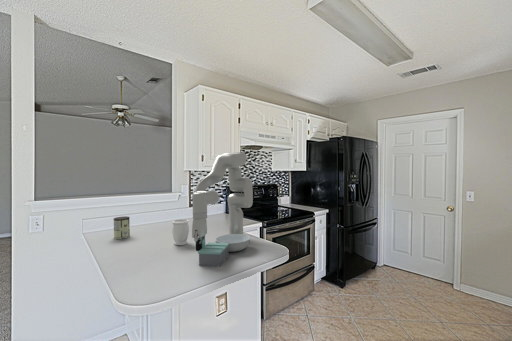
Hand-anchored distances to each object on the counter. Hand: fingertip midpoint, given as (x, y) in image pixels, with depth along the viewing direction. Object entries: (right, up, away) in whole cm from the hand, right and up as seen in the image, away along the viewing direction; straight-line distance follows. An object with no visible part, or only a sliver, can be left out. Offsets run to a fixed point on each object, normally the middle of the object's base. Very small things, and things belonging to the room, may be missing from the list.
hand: (200, 249), depth 131 cm
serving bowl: (+16, -6, +17) cm, 24 cm away
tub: (+8, -5, -1) cm, 10 cm away
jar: (-20, -6, +30) cm, 36 cm away
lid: (+6, -1, -1) cm, 6 cm away
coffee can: (-68, -7, +48) cm, 84 cm away
